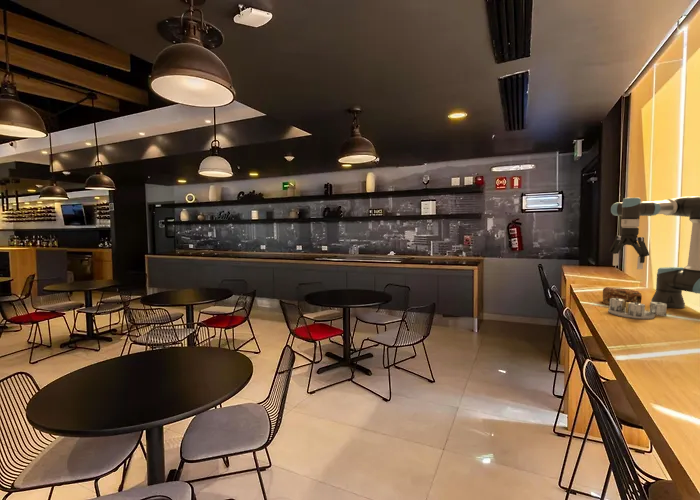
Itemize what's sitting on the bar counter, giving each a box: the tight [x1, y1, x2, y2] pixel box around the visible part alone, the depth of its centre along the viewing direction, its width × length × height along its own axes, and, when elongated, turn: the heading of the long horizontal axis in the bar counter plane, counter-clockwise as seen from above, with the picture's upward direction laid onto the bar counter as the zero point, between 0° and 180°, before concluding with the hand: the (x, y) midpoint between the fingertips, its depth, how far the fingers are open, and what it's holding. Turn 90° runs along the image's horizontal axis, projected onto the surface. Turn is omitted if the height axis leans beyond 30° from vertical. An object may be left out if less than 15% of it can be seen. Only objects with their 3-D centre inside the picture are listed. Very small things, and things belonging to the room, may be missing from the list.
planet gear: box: [649, 301, 668, 317], centre depth 197 cm, size 7×7×6 cm
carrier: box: [608, 298, 656, 320], centre depth 196 cm, size 20×20×8 cm
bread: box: [602, 286, 643, 307], centre depth 218 cm, size 19×11×10 cm, turn 54°
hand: (627, 267), depth 191 cm, fingers open, 13 cm apart
